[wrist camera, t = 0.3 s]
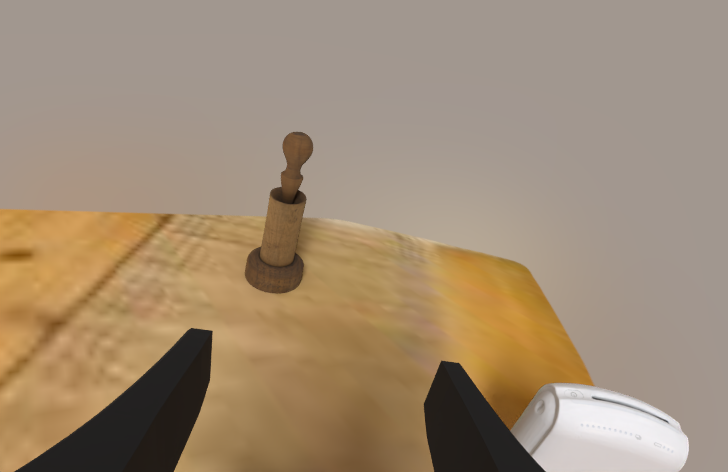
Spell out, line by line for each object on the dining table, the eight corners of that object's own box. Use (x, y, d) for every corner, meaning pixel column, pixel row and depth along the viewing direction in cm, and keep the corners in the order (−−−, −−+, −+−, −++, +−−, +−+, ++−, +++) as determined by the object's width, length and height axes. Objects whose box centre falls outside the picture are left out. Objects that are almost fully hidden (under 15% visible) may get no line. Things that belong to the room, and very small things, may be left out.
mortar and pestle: (249, 295, 45) (274, 142, 36) (240, 260, 49) (260, 117, 41) (306, 292, 48) (341, 149, 39) (293, 259, 52) (321, 126, 44)
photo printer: (487, 506, 31) (567, 408, 25) (481, 454, 35) (549, 358, 29) (612, 544, 32) (720, 455, 26) (592, 488, 35) (683, 399, 29)
